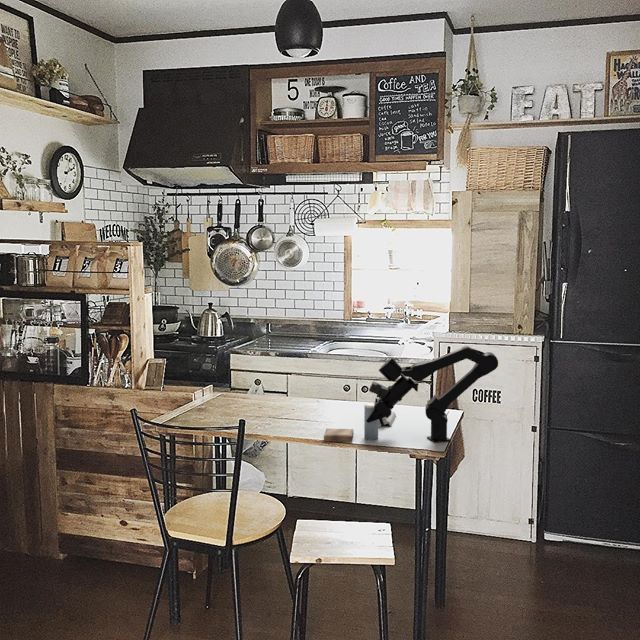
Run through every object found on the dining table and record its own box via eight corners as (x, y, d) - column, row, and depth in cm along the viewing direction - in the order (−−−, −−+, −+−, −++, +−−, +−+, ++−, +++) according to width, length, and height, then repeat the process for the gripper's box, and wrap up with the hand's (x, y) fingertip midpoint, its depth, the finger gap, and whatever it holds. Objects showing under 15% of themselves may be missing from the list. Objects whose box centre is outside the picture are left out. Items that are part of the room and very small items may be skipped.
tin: (380, 439, 278) (380, 406, 276) (367, 440, 276) (367, 407, 275) (375, 435, 283) (375, 403, 281) (362, 436, 281) (362, 404, 280)
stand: (353, 434, 284) (353, 428, 284) (352, 441, 274) (352, 435, 274) (326, 433, 285) (326, 428, 285) (324, 441, 275) (324, 435, 275)
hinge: (391, 426, 295) (382, 402, 295) (379, 430, 296) (370, 405, 296) (396, 416, 311) (388, 393, 311) (385, 419, 312) (377, 396, 312)
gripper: (383, 369, 285) (353, 398, 288) (381, 379, 267) (349, 410, 270) (404, 391, 286) (374, 419, 288) (404, 402, 267) (372, 432, 270)
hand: (367, 420), depth 279 cm, fingers closed on tin, 5 cm apart
